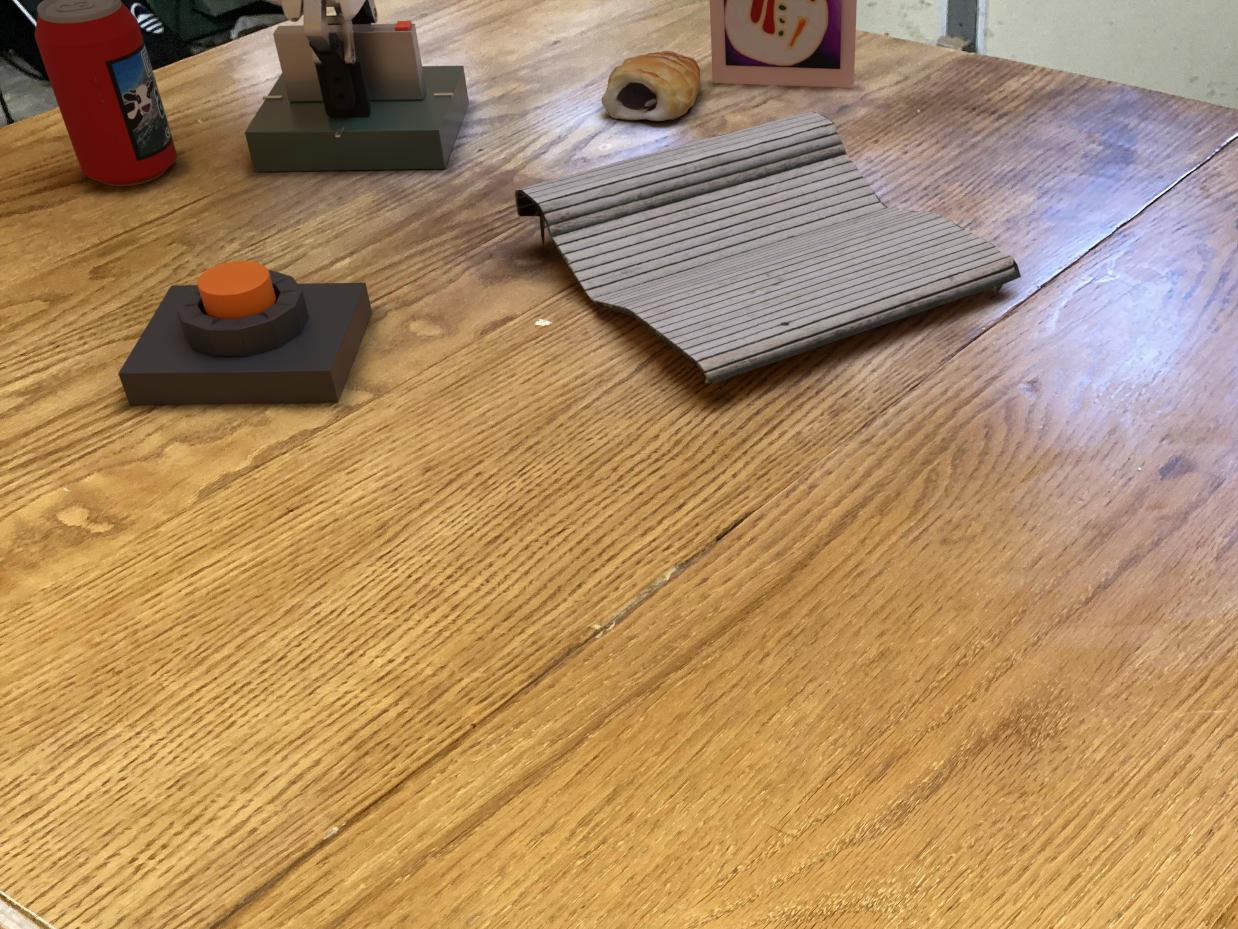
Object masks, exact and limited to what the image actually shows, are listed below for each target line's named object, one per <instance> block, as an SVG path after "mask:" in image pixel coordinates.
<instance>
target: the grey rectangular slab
mask: <svg viewBox="0 0 1238 929" xmlns="http://www.w3.org/2000/svg"><path fill="white" fill-rule="evenodd" d="M328 26H329V28H330V32H331V33H336V34H337V35H338V37H339V38H340V40H341V41H342V34H341V25H328ZM352 27H353V37H354V46H355V56H356V59H361V61H362V66H363V71H364V76H365V81H366V86H367V91H368V96H369V100H423V98H424V96H425V93H426V86H425V80H424V74H423V68H422V66H423V62H422V58H421V57H422V56H421V51H420V45H419V40H418V33H417V28H416V23H412V20H397V22H396V23H374V24H357V25H352ZM272 37H273V39H274V44H275V48H276V53H277V56H278V57H277V58H278V61H279V66H280V69H281V74H283V78H284V82H285V87H286V91H287V95H288V99H289V102H302V101H323V98H322V93H321V89H320V84H319V80H318V75H317V71H316V66H315V64H314V61H313V56H312V47H310V45H309V40H308V39H307V38H306V36H305V33H304V27H303V24H302V25H300V24H299V25H277V27H276V29H275V30H274V32H273V33H272Z"/></svg>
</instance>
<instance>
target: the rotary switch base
mask: <svg viewBox="0 0 1238 929" xmlns="http://www.w3.org/2000/svg"><path fill="white" fill-rule="evenodd" d="M422 68H423V74H424V80H425V86H426V93H425V96H424V98H423V100H369V101H370V106H371V112H370V114H369V116H368V117H347V118H331V117H329V116H327V114H326V111H325V107H324V102H323V101H302V102H289V99H288V95H287V91H286V87H285V82H284V78H283V74H282V73H280V75H279V77H278V79H277V80H276V81H275V83H274V84H273V86H272V88H271V89H270V91H269V92H268V94H267V95H263V96H262V101H263V100H264V101H263V102H262V104H260V107H259V109H258V110H257V112H256V114H255V115H254V116H253V118H252V120H251V121H250V123H249V125H248V126H247V128H246V130H245V131H244V137H245V140H246V144H247V148H248V152H249V156H250V159H251V164H252V166H253V171H254V172H255V173H260V172H266V173H268V172H321V171H324V172H325V171H326V172H327V171H328V172H329V171H330V172H331V171H332V172H333V171H385V170H386V171H388V170H390V171H391V170H392V171H394V170H395V171H396V170H444V169H446V167H447V164H448V162H449V159H450V156H451V153H452V151H453V148H454V145H455V143H456V139H457V138H458V134H459V131H460V129H461V126H462V123H463V120H464V117H465V115H466V112H467V109H468V107H469V105H470V101H469V100H470V99H469V93H468V86H467V79H466V72H465V68H464V65H422Z"/></svg>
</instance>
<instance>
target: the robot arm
mask: <svg viewBox="0 0 1238 929" xmlns="http://www.w3.org/2000/svg"><path fill="white" fill-rule="evenodd" d="M280 2H281V6H282V11H283V14H284V16H285V17H286V18H287V20H288V21H289V22H292V23H297V22H298V21H299V20H300V19H301V18H302V16H303V18H302V19H303V20H302V21H303V24H302V25H303V27H304V33H305V36H306V38H307V39H308V40H309V45H310V47H312V56H313V61H314V64H315V66H316V71H317V75H318V80H319V84H320V89H321V93H322V98H323V102H324V107H325V111H326V114H327V116H329V117H331V118H347V117H368V116H369V114H370V112H371V106H370V101H369V96H368V91H367V86H366V81H365V76H364V71H363V66H362V61H361V59H356V56H355V46H354V37H353V27H352V25H357V24H378V22H379V21H378V20H379V16H378V10H377V6H376V3H375V0H280ZM327 8H333V10H334V12H335V15H333V14H332V15H329V14H328V15H327ZM328 25H341V34H342V41H341V40H340V38H339V37H338V35H337V34H336V33H331V32H330V28H329V26H328Z"/></svg>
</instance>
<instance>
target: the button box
mask: <svg viewBox="0 0 1238 929" xmlns="http://www.w3.org/2000/svg"><path fill="white" fill-rule="evenodd" d="M268 271H269V274H270V277H271V281H272V285H273V289H274V292H275V296H276V302H275V304H274V305H272V306H271V307H269V308H268V309H266V310H264V311H263V312H261V313H258V314H255V315H251V316H247V317H244V318H240V319H217V318H214V317H211V316H208V315H207V313H206V311H205V308H204V305H203V302H202V299H201V295H200V292H199V289H198V286H197V284H176V285H175V284H174V285H170V286H169V288H168V290H167V292H166V293H165V295H164V297H163V299H162V300H161V302H160V303H159V305H158V306H157V308H156V310H155V311H154V313H153V315H152V316H151V317H150V320H149V322H148V323H147V325H146V326H145V328H144V330H143V332H142V333H141V335H140V336H139V338H138V340H137V341H136V343H135V345H134V347H133V348H132V350H131V352H130V353H129V355H128V356H127V358H126V359H125V361H124V363H123V365H122V366H121V367H120V370H119V371H118V374H117V375H118V377H119V380H120V383H121V384H122V385H121V386H122V389H123V391H124V393H125V396H126V399H127V402H128V405H129V406H188V405H189V406H190V405H191V406H192V405H193V406H194V405H196V406H197V405H201V406H203V405H264V404H266V405H268V404H270V405H271V404H275V405H276V404H336V403H339V402H340V400H341V396H342V394H343V392H344V388H345V386H346V384H347V381H348V379H349V376H350V373H351V371H352V368H353V365H354V364H355V363H354V362H355V361H356V357H357V355H358V352H359V350H360V347H361V345H362V343H363V342H362V341H363V340H364V337H365V334H366V331H367V329H368V326H369V324H370V321H371V318H372V316H373V310H372V307H371V306H372V305H371V301H370V296H369V292H368V287H367V283H366V282H326V283H325V282H317V283H316V282H311V283H310V282H307V283H303V282H302V283H298V281H297V280H295V278H294V277H293V276H292V275H288V274H286V273H282V272H279V271H276V270H273V269H268Z"/></svg>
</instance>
